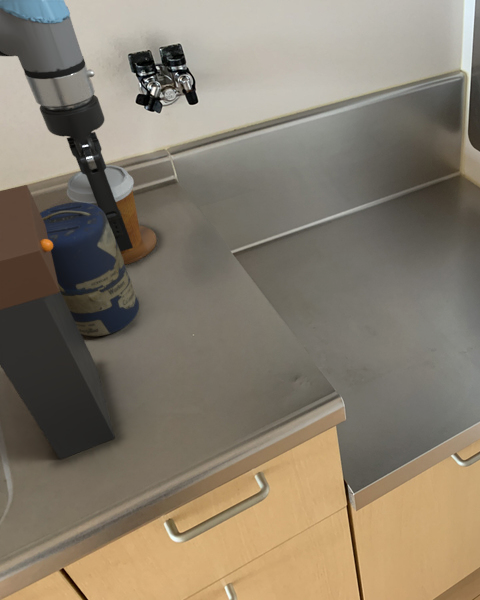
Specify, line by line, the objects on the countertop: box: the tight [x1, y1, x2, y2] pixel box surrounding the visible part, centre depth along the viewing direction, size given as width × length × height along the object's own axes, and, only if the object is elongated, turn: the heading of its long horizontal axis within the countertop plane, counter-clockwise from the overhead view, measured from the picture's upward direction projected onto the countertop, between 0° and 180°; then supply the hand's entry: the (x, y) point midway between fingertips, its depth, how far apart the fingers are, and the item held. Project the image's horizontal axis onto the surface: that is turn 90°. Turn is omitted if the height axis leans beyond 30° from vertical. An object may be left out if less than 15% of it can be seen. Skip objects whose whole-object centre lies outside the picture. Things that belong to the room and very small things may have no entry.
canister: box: [40, 201, 140, 337], centre depth 81 cm, size 10×10×18 cm
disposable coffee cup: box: [66, 164, 141, 254], centre depth 96 cm, size 10×10×12 cm
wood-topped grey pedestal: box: [0, 184, 116, 460], centre depth 67 cm, size 8×13×27 cm, turn 29°
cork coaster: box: [121, 224, 158, 266], centre depth 100 cm, size 11×11×1 cm
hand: (118, 234), depth 99 cm, fingers closed on disposable coffee cup, 8 cm apart
